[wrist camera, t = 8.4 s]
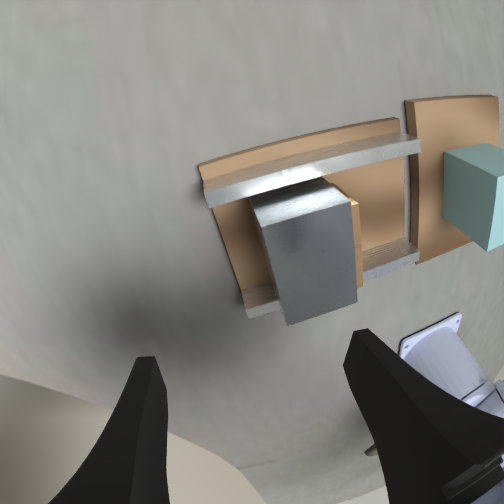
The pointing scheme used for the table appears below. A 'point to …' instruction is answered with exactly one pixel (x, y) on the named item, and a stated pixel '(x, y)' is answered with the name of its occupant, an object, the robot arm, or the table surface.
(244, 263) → the frame
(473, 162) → the block
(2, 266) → the table surface
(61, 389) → the table surface
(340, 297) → the block
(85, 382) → the table surface
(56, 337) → the table surface
